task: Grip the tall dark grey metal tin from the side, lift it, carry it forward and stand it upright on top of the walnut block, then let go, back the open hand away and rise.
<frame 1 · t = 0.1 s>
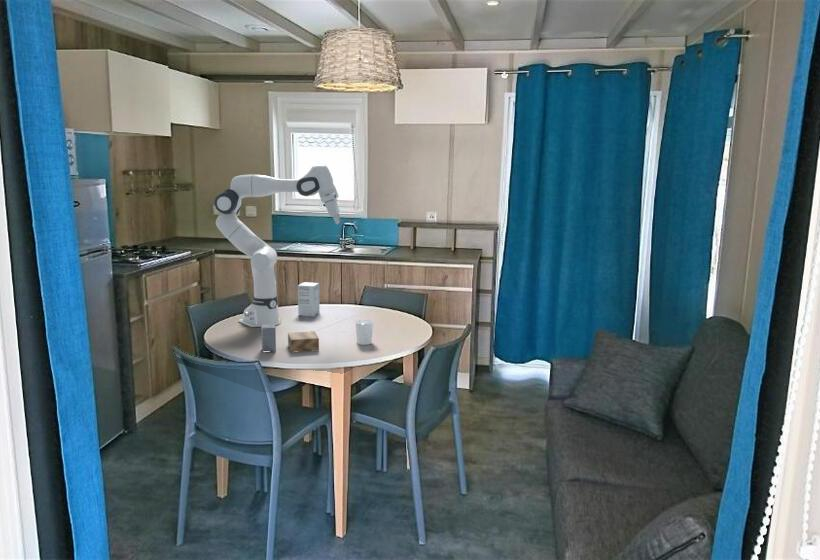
hand: (338, 223, 320), 52 cm above the table, tool tilted 20°, fingers open, 8 cm apart
supplement box: (309, 314, 349), on the table
white cup: (364, 343, 295), on the table
walnut block: (303, 348, 286), on the table
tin: (268, 350, 281), on the table
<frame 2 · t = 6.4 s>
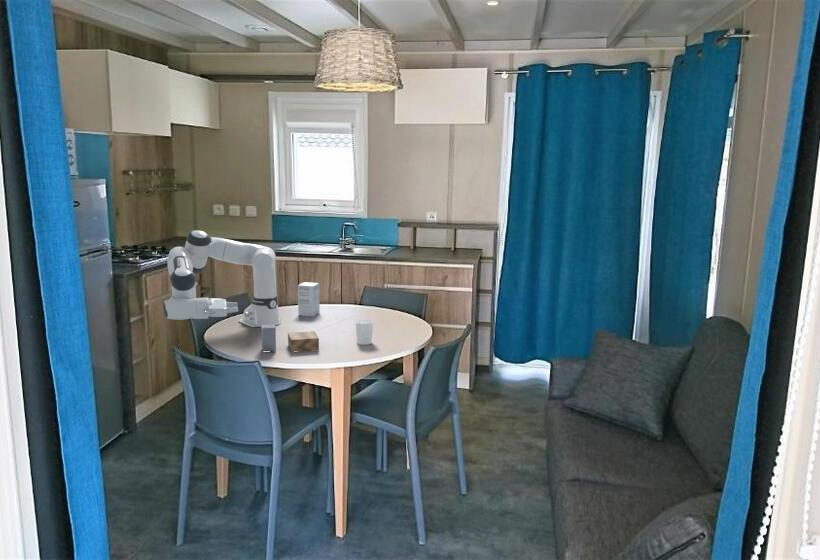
hand: (237, 306, 274), 20 cm above the table, tool horizontal, fingers open, 8 cm apart
nothing on the table moved.
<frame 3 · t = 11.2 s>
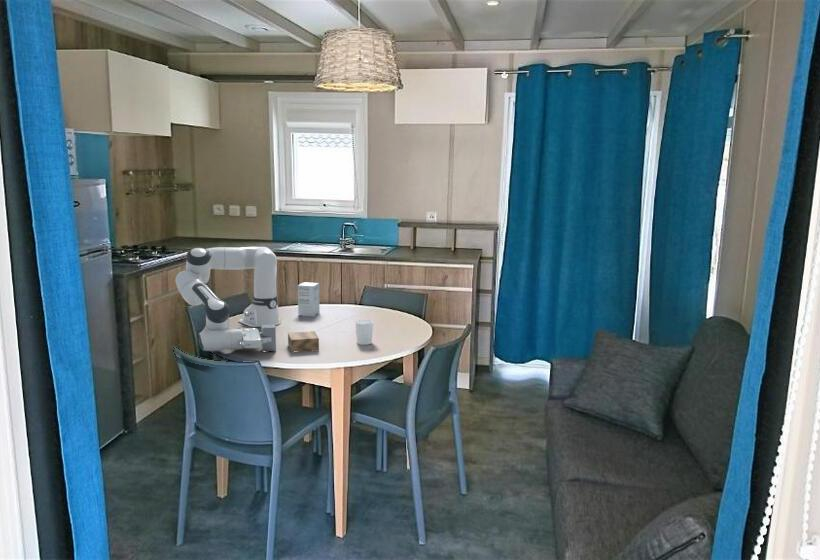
hand: (270, 337, 280), 6 cm above the table, tool horizontal, fingers closed on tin, 6 cm apart
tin: (268, 350, 281), on the table, touching gripper
everything else where it was.
when the fingers open (13 cm above the table, at t = 16.8 s): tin drops 1 cm, point 6 cm above the table.
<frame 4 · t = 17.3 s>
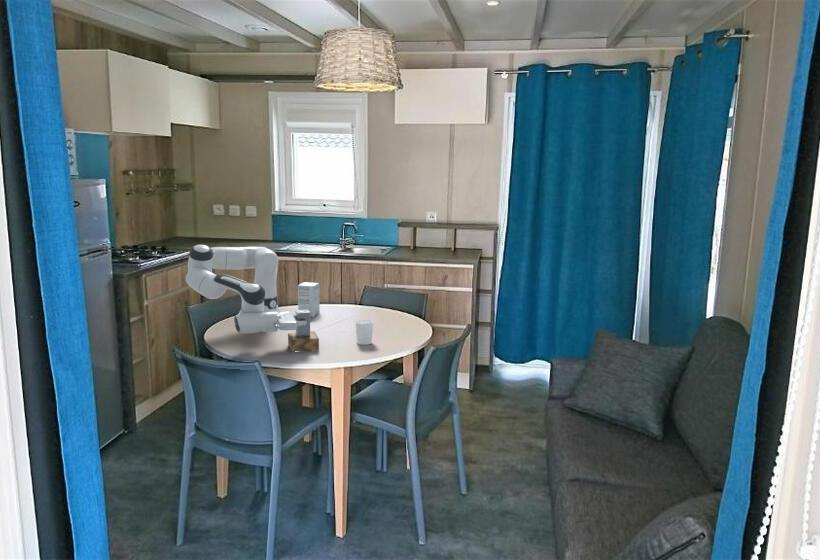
hand: (304, 319, 284), 13 cm above the table, tool horizontal, fingers open, 8 cm apart
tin: (302, 335, 285), point 6 cm above the table
everything else where it was.
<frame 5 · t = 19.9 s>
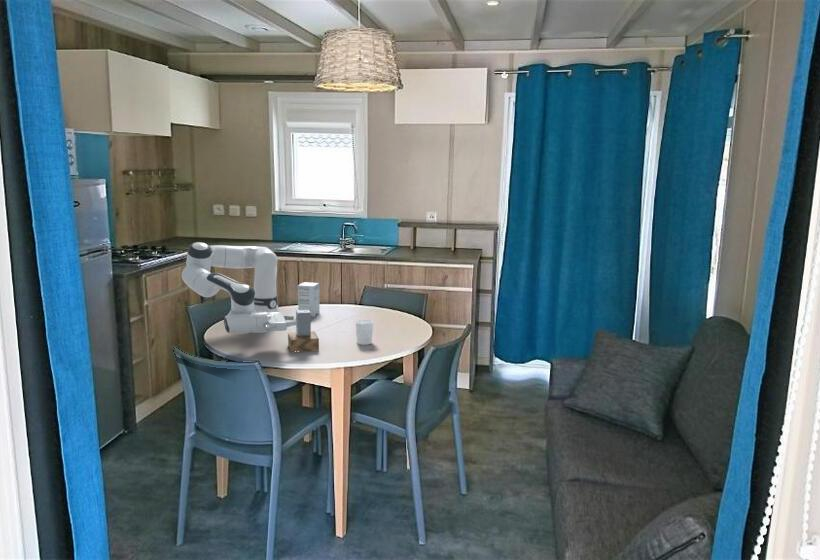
hand: (295, 320, 283), 13 cm above the table, tool horizontal, fingers open, 8 cm apart
walnut block: (303, 348, 286), on the table, touching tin
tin: (303, 335, 285), point 6 cm above the table, touching walnut block
everything else where it was.
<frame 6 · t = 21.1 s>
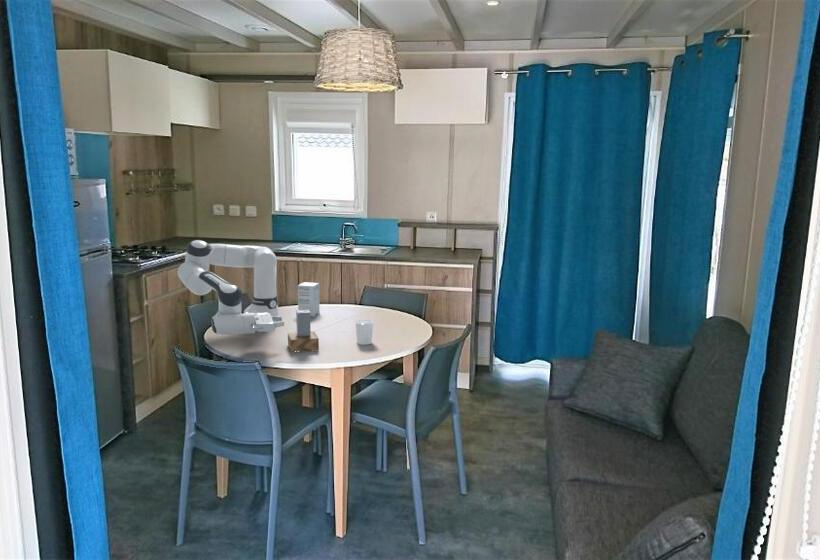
hand: (282, 321, 281), 13 cm above the table, tool horizontal, fingers open, 8 cm apart
nothing on the table moved.
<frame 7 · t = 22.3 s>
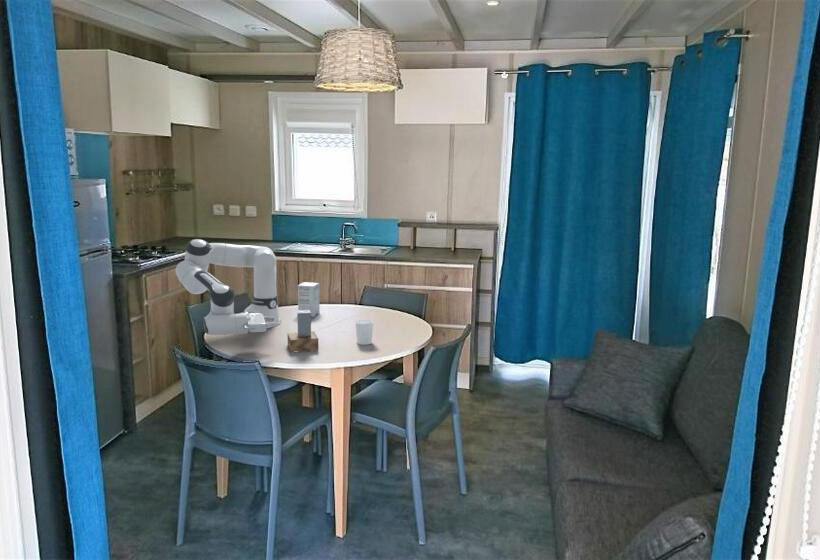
hand: (275, 321, 280), 13 cm above the table, tool horizontal, fingers open, 8 cm apart
nothing on the table moved.
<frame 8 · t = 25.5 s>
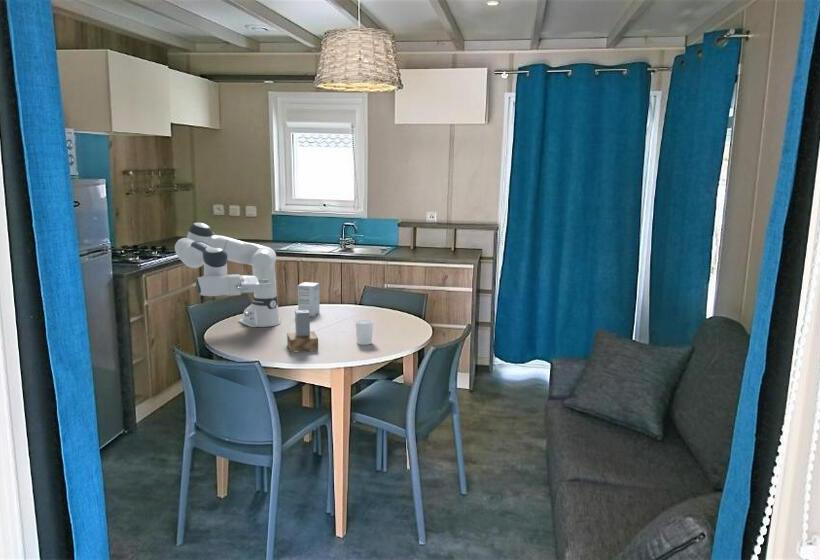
hand: (269, 283, 276), 30 cm above the table, tool horizontal, fingers open, 8 cm apart
walnut block: (302, 348, 286), on the table
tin: (302, 335, 285), point 6 cm above the table
everything else where it was.
at the end: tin inside the target area on the walnut block (0.2 cm from its centre), point 6.1 cm above the walnut block's base; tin tilted 1°; the gripper is holding nothing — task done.
